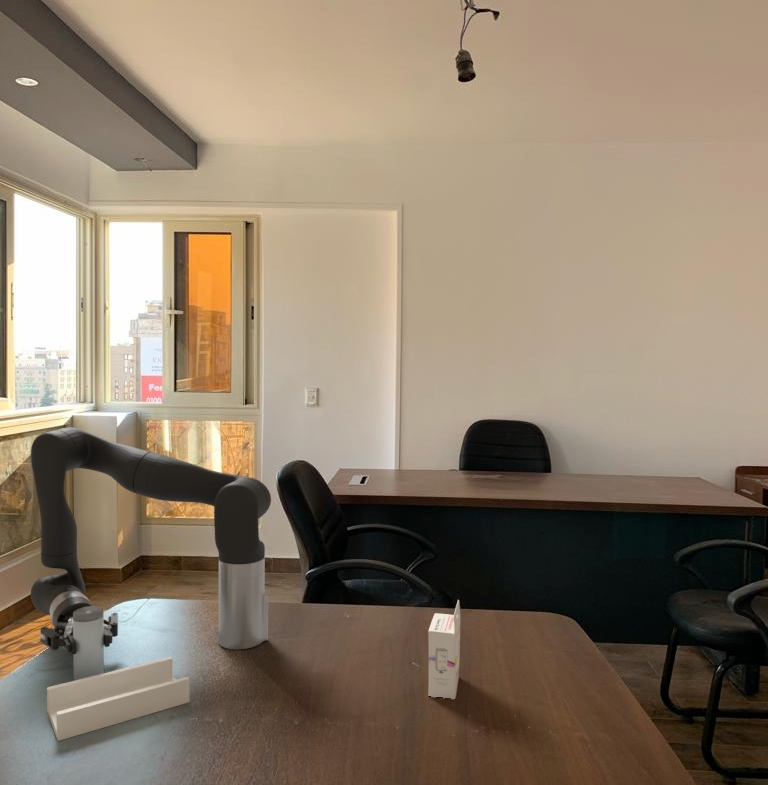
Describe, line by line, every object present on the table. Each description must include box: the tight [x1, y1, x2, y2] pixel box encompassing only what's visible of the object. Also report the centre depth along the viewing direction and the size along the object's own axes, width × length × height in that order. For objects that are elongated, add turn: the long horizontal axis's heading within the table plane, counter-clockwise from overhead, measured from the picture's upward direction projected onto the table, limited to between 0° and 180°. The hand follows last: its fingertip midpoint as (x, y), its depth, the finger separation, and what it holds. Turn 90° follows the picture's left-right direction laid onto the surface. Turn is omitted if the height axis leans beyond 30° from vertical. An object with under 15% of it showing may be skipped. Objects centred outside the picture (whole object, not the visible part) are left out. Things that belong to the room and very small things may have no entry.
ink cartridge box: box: [427, 599, 461, 700], centre depth 115 cm, size 9×5×15 cm, turn 168°
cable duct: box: [46, 656, 190, 742], centre depth 107 cm, size 20×10×4 cm, turn 126°
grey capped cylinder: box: [72, 605, 105, 681], centre depth 117 cm, size 5×5×12 cm
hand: (91, 645), depth 115 cm, fingers closed on grey capped cylinder, 5 cm apart
